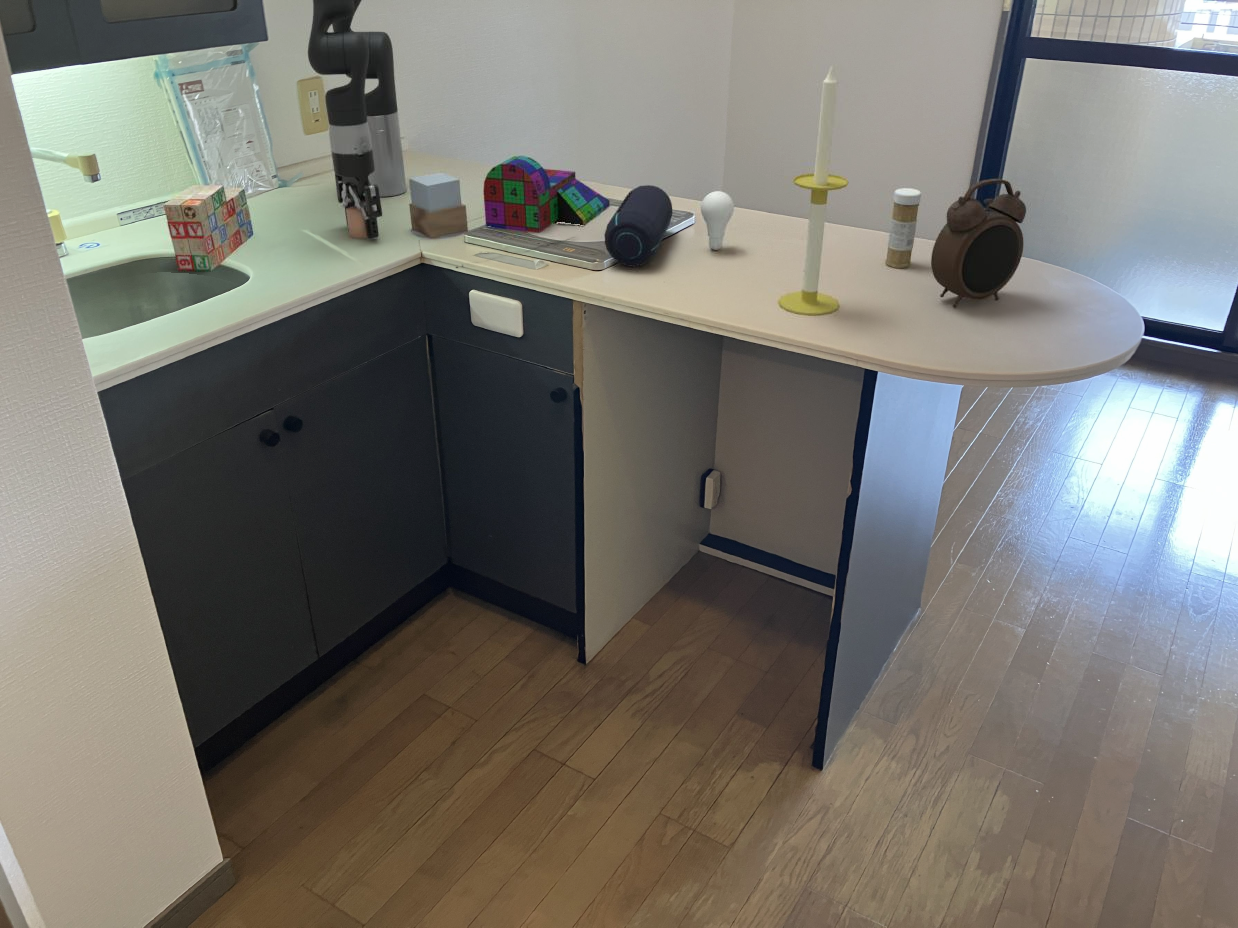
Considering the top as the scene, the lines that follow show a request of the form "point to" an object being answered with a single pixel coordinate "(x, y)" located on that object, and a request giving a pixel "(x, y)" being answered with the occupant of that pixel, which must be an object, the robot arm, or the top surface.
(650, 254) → the portable speaker
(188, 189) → the stack of blocks
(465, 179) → the top surface
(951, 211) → the alarm clock
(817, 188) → the candle
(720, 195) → the lightbulb
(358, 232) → the peach rounded cylinder
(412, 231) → the slate coaster
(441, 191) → the grey-blue top block
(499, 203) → the numbered checker block
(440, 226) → the walnut base block
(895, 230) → the sprinkles bottle
